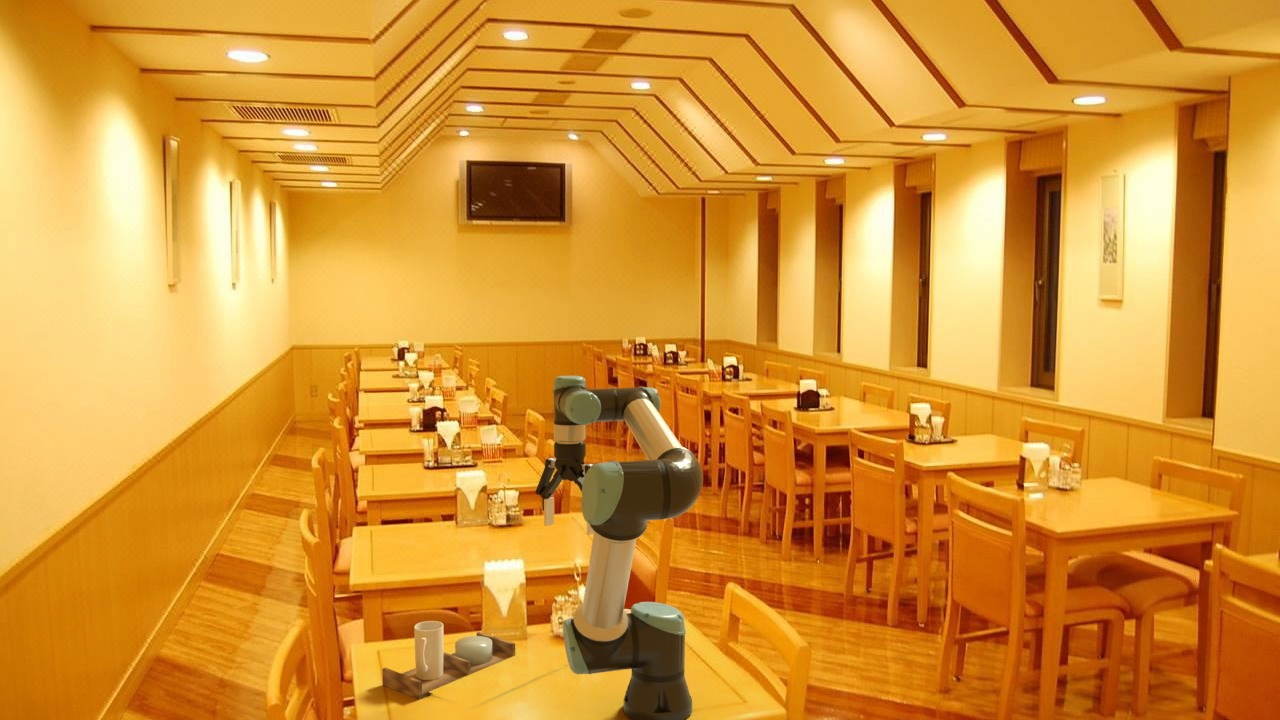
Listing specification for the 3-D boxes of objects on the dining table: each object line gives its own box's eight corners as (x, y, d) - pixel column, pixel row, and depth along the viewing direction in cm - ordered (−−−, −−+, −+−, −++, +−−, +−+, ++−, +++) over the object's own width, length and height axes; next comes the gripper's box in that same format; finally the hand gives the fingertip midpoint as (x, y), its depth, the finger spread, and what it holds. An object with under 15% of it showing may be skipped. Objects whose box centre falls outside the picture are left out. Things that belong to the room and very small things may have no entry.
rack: (515, 659, 252) (515, 643, 251) (419, 699, 228) (419, 682, 227) (479, 647, 260) (478, 631, 259) (382, 685, 236) (382, 668, 235)
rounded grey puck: (500, 657, 250) (499, 641, 250) (473, 668, 243) (472, 652, 243) (474, 648, 256) (474, 633, 255) (447, 659, 249) (447, 643, 248)
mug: (419, 669, 243) (418, 620, 241) (447, 669, 242) (446, 621, 241) (407, 686, 233) (406, 635, 231) (436, 687, 232) (435, 636, 231)
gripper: (620, 444, 235) (620, 534, 237) (542, 433, 250) (542, 518, 252) (600, 449, 229) (600, 540, 231) (520, 437, 245) (521, 524, 246)
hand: (570, 529), depth 242 cm, fingers open, 13 cm apart
